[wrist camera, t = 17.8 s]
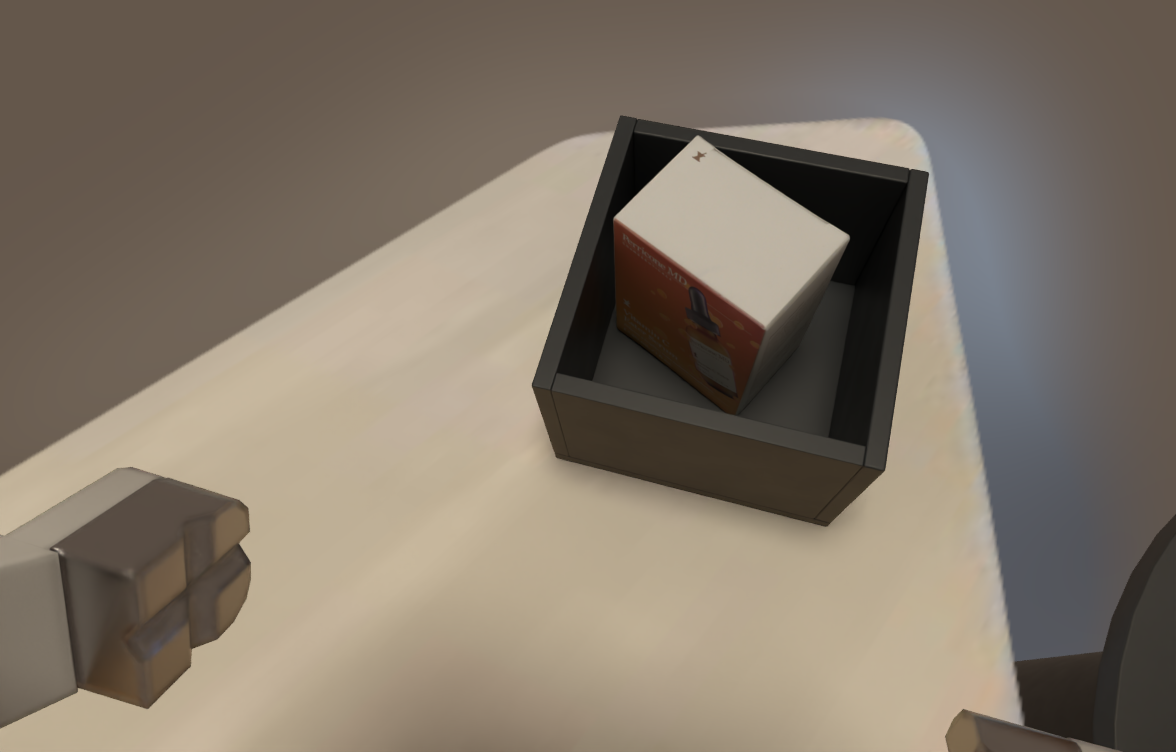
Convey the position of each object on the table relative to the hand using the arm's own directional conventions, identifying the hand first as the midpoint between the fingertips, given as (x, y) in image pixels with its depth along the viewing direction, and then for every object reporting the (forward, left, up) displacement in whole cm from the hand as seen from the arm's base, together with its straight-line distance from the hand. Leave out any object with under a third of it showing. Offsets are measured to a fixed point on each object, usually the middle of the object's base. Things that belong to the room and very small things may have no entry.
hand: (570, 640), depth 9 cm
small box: (0, -18, -29) cm, 34 cm away
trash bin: (-1, -16, -29) cm, 33 cm away
